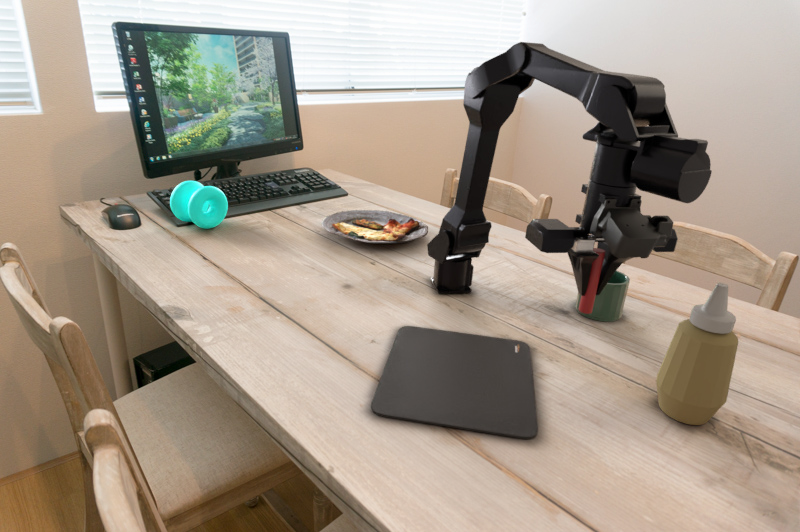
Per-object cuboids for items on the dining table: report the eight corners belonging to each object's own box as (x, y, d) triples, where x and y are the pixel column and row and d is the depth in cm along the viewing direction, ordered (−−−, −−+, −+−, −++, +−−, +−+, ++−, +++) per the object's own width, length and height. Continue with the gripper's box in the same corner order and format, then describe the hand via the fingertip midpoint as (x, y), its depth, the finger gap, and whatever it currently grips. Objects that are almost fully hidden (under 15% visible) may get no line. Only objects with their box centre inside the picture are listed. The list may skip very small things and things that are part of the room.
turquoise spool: (206, 215, 133) (202, 176, 129) (231, 224, 128) (229, 184, 124) (169, 224, 125) (165, 183, 122) (195, 234, 120) (191, 191, 116)
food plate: (444, 232, 130) (445, 219, 129) (392, 259, 112) (393, 243, 110) (362, 212, 142) (362, 200, 141) (303, 233, 124) (303, 219, 123)
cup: (589, 322, 90) (597, 285, 88) (567, 302, 97) (574, 267, 95) (630, 320, 92) (639, 284, 89) (605, 301, 99) (613, 266, 96)
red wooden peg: (582, 314, 72) (595, 252, 69) (576, 308, 74) (588, 247, 70) (594, 313, 72) (608, 252, 69) (587, 307, 74) (601, 247, 71)
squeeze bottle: (637, 392, 72) (670, 270, 65) (693, 392, 72) (732, 271, 66) (670, 432, 64) (712, 299, 57) (732, 432, 65) (780, 300, 58)
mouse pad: (538, 441, 61) (539, 439, 61) (367, 414, 64) (367, 412, 64) (529, 343, 82) (529, 341, 82) (400, 326, 85) (400, 324, 85)
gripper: (574, 198, 57) (550, 325, 63) (724, 200, 61) (688, 320, 67) (533, 175, 67) (515, 286, 73) (663, 177, 71) (636, 283, 77)
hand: (588, 294), depth 72 cm, fingers closed on red wooden peg, 2 cm apart
